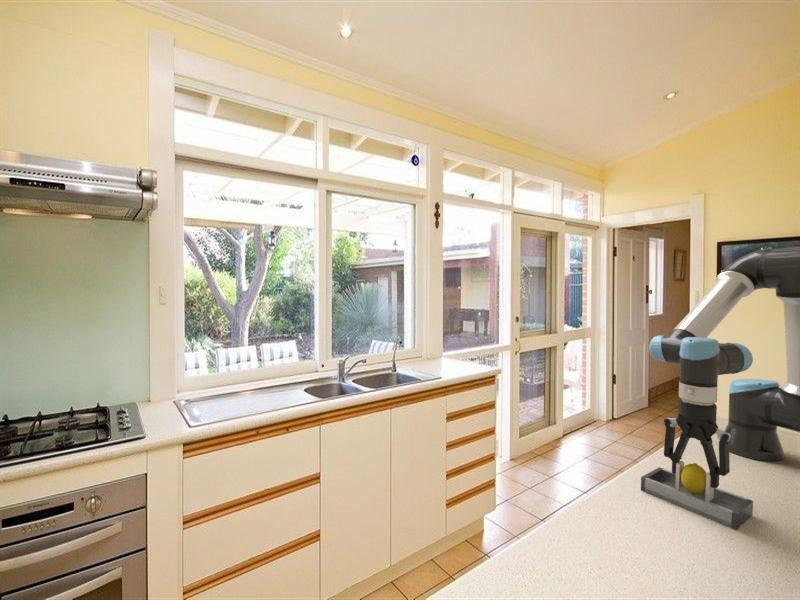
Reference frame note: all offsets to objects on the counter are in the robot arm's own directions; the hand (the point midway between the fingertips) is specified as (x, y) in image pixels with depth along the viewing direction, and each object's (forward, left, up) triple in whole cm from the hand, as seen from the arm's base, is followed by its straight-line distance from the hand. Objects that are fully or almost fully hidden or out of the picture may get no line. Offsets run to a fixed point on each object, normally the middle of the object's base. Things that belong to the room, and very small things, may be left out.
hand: (693, 492), depth 98 cm
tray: (0, 0, -2) cm, 2 cm away
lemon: (0, 0, -1) cm, 1 cm away
